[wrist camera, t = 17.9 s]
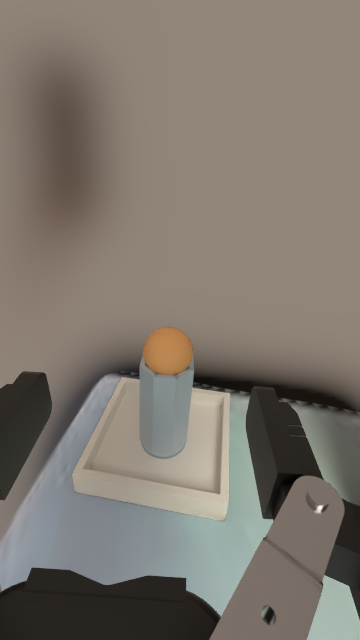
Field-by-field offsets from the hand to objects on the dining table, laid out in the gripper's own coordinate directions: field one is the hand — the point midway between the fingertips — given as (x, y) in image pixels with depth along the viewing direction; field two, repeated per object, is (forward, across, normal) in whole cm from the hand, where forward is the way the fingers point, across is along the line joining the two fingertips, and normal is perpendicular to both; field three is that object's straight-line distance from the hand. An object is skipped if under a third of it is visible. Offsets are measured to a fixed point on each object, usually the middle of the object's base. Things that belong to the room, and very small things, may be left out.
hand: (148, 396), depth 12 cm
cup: (+17, 0, +23) cm, 29 cm away
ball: (+17, 0, +10) cm, 20 cm away
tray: (+17, 0, +24) cm, 30 cm away
